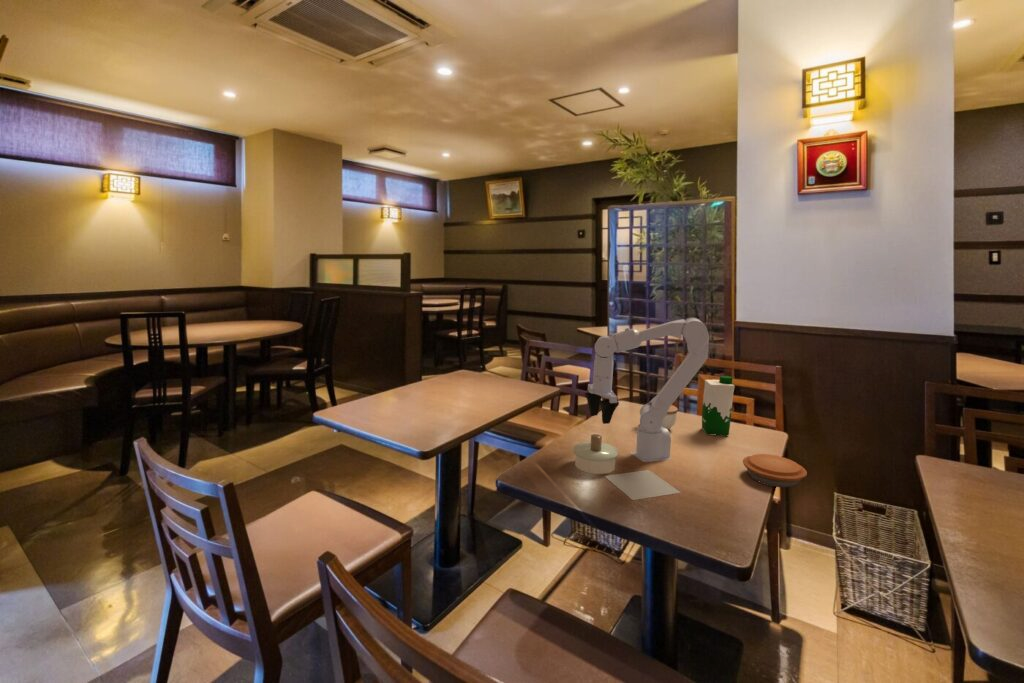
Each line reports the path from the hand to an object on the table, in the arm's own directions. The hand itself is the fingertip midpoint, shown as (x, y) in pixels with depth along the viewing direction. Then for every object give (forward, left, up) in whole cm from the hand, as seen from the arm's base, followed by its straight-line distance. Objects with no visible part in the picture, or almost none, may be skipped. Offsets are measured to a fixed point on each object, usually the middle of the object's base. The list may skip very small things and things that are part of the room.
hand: (599, 419), depth 147 cm
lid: (+7, +10, -6) cm, 14 cm away
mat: (+1, +24, -10) cm, 26 cm away
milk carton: (-48, -5, -11) cm, 50 cm away
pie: (-37, +30, -11) cm, 49 cm away
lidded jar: (-32, -14, -11) cm, 37 cm away
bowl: (+7, +10, -10) cm, 16 cm away
